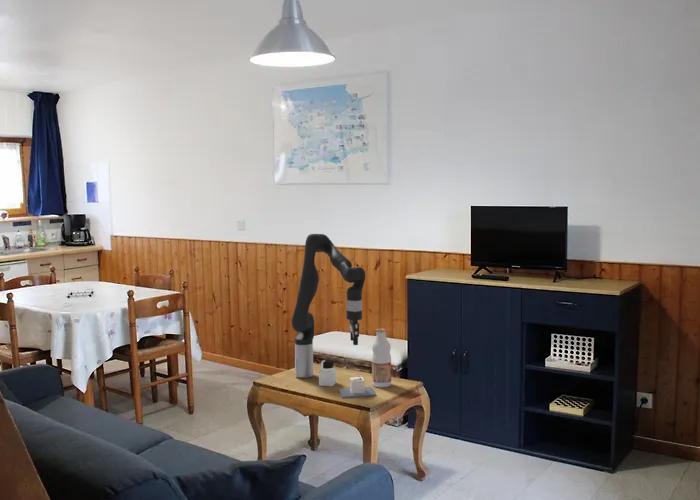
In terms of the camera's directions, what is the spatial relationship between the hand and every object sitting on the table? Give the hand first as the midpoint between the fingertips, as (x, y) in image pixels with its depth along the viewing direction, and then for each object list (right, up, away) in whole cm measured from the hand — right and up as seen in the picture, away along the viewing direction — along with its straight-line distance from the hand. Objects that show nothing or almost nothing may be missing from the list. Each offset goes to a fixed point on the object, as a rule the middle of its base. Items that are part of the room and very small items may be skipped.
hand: (354, 342), depth 309 cm
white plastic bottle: (+14, -23, +11) cm, 29 cm away
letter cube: (+2, -23, -1) cm, 23 cm away
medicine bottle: (-13, -23, +13) cm, 29 cm away
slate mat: (+2, -24, -1) cm, 24 cm away
